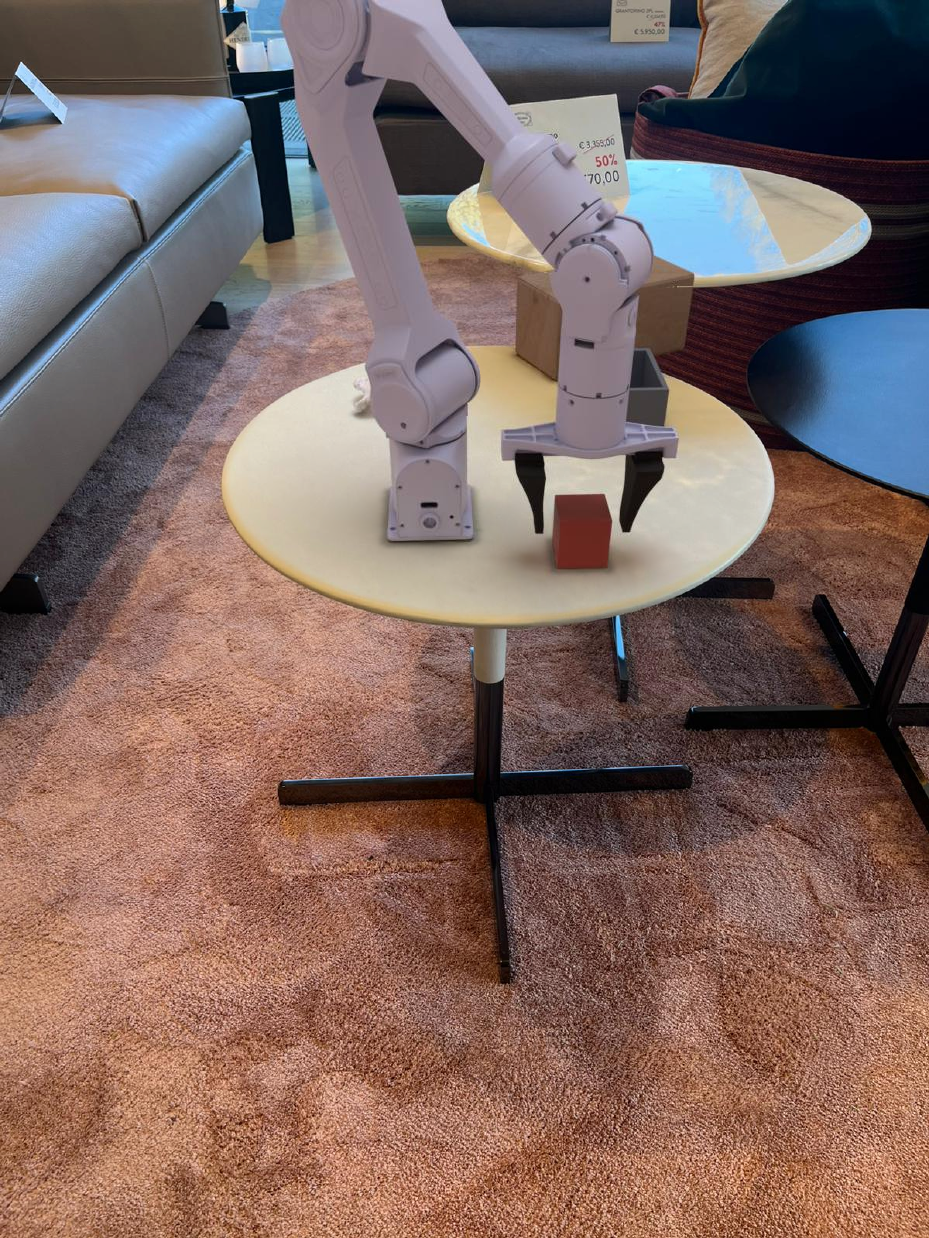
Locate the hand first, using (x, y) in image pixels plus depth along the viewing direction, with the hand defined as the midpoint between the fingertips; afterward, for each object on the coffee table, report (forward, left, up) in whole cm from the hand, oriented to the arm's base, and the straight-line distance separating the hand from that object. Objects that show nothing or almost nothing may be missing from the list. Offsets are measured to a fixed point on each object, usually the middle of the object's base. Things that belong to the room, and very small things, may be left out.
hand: (581, 527), depth 82 cm
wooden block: (+41, +1, +2) cm, 41 cm away
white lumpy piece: (+31, +19, -3) cm, 36 cm away
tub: (+28, -7, -3) cm, 29 cm away
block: (0, 0, -3) cm, 3 cm away
